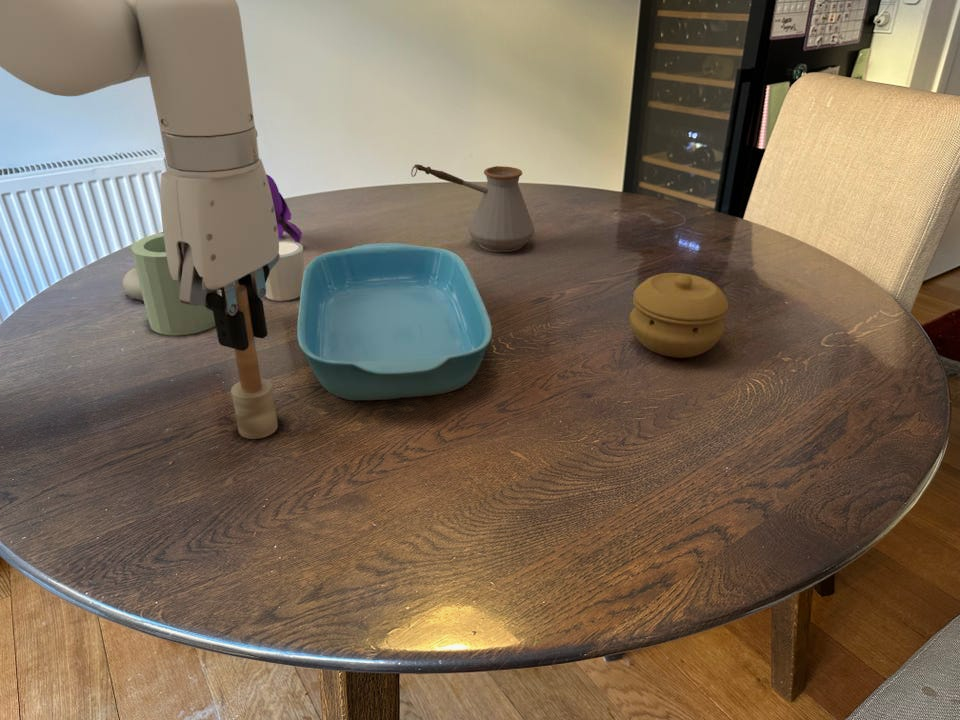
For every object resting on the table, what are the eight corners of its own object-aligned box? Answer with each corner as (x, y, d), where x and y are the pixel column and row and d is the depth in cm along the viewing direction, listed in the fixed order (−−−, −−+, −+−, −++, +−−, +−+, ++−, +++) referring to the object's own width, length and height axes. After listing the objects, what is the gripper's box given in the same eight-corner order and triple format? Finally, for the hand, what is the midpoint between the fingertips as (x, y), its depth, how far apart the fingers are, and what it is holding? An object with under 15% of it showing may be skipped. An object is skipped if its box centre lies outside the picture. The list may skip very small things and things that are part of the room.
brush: (235, 440, 72) (208, 297, 64) (242, 418, 75) (217, 280, 67) (275, 438, 72) (253, 296, 64) (280, 416, 76) (260, 279, 68)
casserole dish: (508, 414, 77) (510, 357, 73) (299, 433, 73) (291, 374, 70) (456, 281, 108) (456, 237, 105) (309, 290, 105) (304, 245, 101)
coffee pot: (519, 230, 129) (523, 148, 122) (543, 252, 120) (549, 164, 112) (406, 242, 123) (403, 155, 116) (422, 265, 114) (420, 173, 106)
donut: (116, 289, 104) (138, 311, 98) (110, 268, 102) (132, 288, 96) (183, 273, 110) (208, 292, 103) (178, 252, 108) (204, 270, 102)
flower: (263, 296, 115) (322, 243, 118) (206, 227, 104) (274, 171, 108) (224, 270, 124) (280, 221, 128) (168, 204, 113) (232, 154, 117)
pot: (695, 324, 97) (708, 256, 92) (735, 366, 87) (752, 292, 82) (614, 329, 95) (622, 260, 90) (645, 372, 85) (656, 297, 80)
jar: (140, 336, 91) (120, 257, 86) (161, 306, 99) (144, 231, 94) (215, 334, 92) (200, 255, 87) (229, 303, 100) (216, 230, 95)
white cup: (277, 280, 108) (272, 237, 104) (317, 287, 106) (312, 243, 102) (251, 298, 102) (243, 252, 99) (292, 305, 100) (286, 259, 97)
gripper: (240, 128, 67) (265, 302, 76) (101, 165, 54) (151, 369, 64) (305, 136, 65) (323, 316, 74) (175, 177, 52) (216, 388, 61)
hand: (243, 339), depth 69 cm, fingers closed on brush, 2 cm apart
